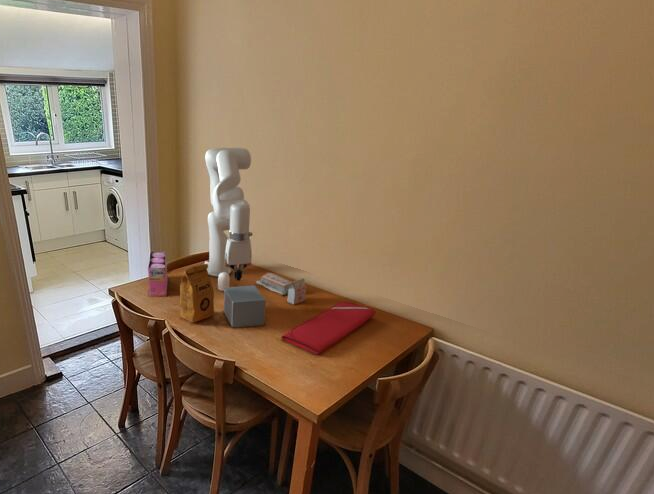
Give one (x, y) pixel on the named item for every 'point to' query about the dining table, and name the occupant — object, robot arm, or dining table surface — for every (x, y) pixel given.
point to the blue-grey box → (244, 306)
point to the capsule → (223, 281)
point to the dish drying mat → (328, 327)
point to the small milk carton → (297, 292)
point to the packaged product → (275, 283)
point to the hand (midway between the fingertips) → (237, 279)
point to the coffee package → (196, 294)
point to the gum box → (157, 274)
